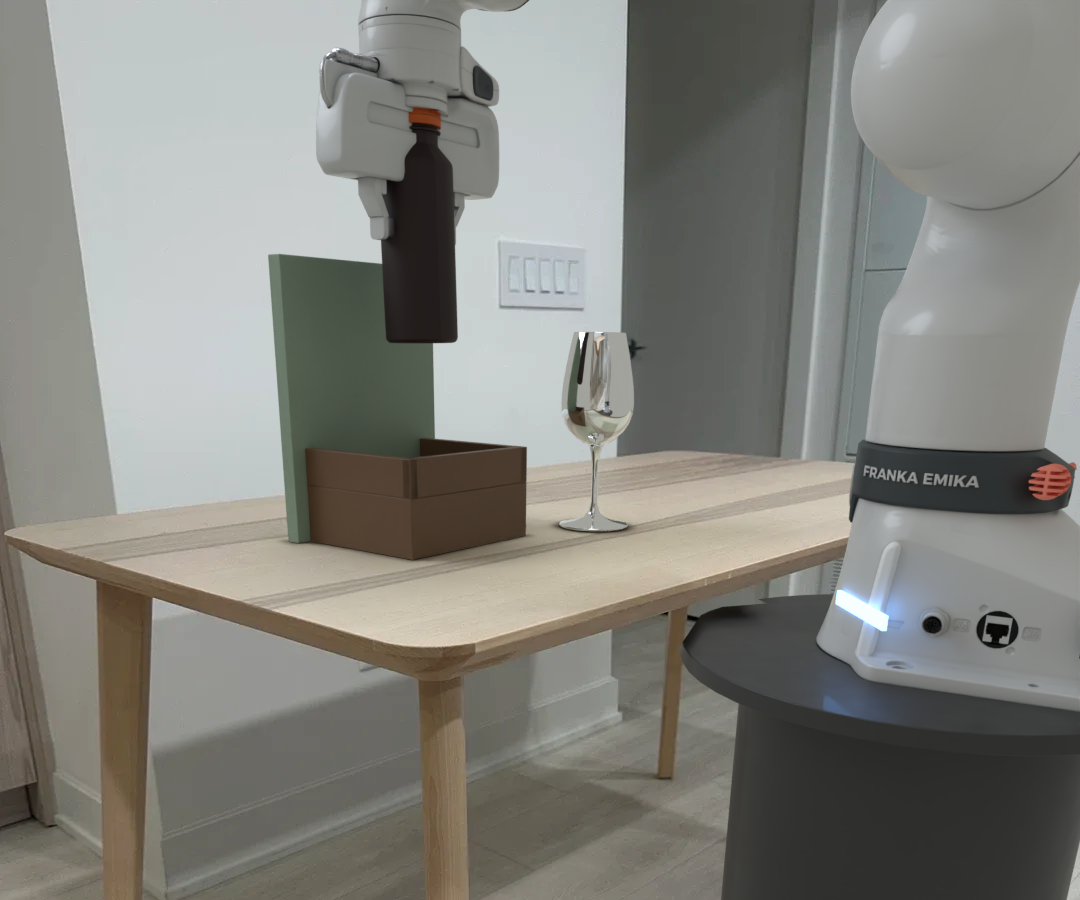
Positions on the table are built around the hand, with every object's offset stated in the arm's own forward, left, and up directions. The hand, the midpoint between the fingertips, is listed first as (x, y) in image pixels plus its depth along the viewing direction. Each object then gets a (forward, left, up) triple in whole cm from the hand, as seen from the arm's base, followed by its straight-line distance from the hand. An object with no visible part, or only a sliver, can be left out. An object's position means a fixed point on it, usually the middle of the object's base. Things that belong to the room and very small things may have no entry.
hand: (415, 243), depth 93 cm
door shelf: (0, 0, -27) cm, 27 cm away
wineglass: (-9, -18, -27) cm, 34 cm away
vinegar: (-1, 0, -9) cm, 9 cm away
